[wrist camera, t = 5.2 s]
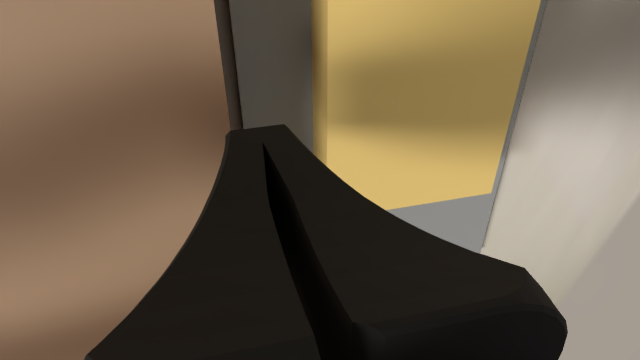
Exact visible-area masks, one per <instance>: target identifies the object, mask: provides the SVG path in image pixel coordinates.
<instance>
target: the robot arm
mask: <svg viewBox="0 0 640 360" xmlns="http://www.w3.org/2000/svg"><path fill="white" fill-rule="evenodd" d="M567 333H568V331H567V325H566V320H565V319H564V317H563V316H562V315H561V313H560V312H559V311H558V309H557V308H556V307H555V305H554V304H553V302H552V301H551V300H550V298H549V297H548V295H547V294H546V293H545V291H544V290H543V289H542V287H541V286H540V285H539V284H538V283H537V282H536V281H535V279H534V278H533V277H532V276H531V275H530V274H529V273H528V271H527V270H526V269H525V268H523V267H520V266H517V265H514V264H510V263H507V262H504V261H501V260H498V259H495V258H492V257H489V256H486V255H482V254H479V253H476V252H473V251H471V250H468V249H466V248H463V247H461V246H458V245H456V244H453V243H451V242H448V241H446V240H443V239H441V238H439V237H437V236H434V235H432V234H430V233H428V232H426V231H423V230H421V229H419V228H418V227H416V226H414V225H412V224H410V223H408V222H406V221H404V220H402V219H400V218H398V217H396V216H395V215H393V214H391V213H389V212H388V211H386V210H384V209H383V208H381V207H380V206H378V205H377V204H375V203H373V202H372V201H370V200H369V199H367V198H366V197H364V196H363V195H361V194H360V193H359V192H357V191H356V190H355V189H353V188H352V187H351V186H349V185H348V184H347V183H346V182H344V181H343V180H342V179H341V178H340V177H338V176H337V175H336V174H335V173H334V172H332V171H331V170H330V169H329V168H328V167H327V166H326V165H325V164H324V163H323V162H321V161H320V160H319V159H318V158H317V157H316V156H315V155H314V154H313V153H312V152H311V151H310V150H309V149H308V148H307V147H306V146H305V145H304V144H303V143H302V142H301V141H300V140H299V139H298V138H297V136H296V135H295V134H294V133H293V132H292V131H291V130H290V129H289V128H288V127H287V126H286V125H285V124H280V125H272V126H265V127H257V128H249V129H241V130H233V131H229V132H228V134H227V135H226V136H225V148H224V153H223V157H222V161H221V165H220V168H219V171H218V174H217V177H216V180H215V182H214V185H213V188H212V190H211V192H210V195H209V197H208V199H207V201H206V204H205V206H204V208H203V210H202V212H201V214H200V216H199V218H198V220H197V222H196V224H195V226H194V227H193V229H192V231H191V233H190V234H189V236H188V238H187V239H186V241H185V243H184V244H183V246H182V247H181V249H180V250H179V252H178V253H177V255H176V256H175V258H174V259H173V260H172V262H171V263H170V265H169V266H168V268H167V269H166V270H165V272H164V273H163V274H162V276H161V277H160V278H159V279H158V281H157V282H156V283H155V284H154V285H153V286H152V288H151V289H150V290H149V291H148V292H147V294H146V295H145V296H144V297H143V298H142V299H141V301H140V302H139V303H138V304H137V305H136V306H135V308H134V309H133V310H132V311H131V312H130V313H129V314H128V315H127V316H126V317H125V318H124V319H123V320H122V321H121V322H120V323H119V324H118V325H117V326H116V327H115V328H114V329H113V330H112V331H111V332H110V333H109V334H108V335H107V336H106V337H105V338H104V339H103V340H102V341H101V342H100V343H99V344H98V345H97V346H96V347H95V348H93V349H92V350H91V351H90V352H89V353H88V354H87V355H86V356H85V358H84V360H558V359H559V356H560V354H561V352H562V350H563V347H564V344H565V340H566V337H567Z"/></svg>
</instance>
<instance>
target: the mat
mask: <svg viewBox="0 0 640 360" xmlns="http://www.w3.org/2000/svg"><path fill="white" fill-rule="evenodd" d="M546 3H547V0H541V2H540V6H539V10H538V14H537V18H536V21H535V25H534V29H533V33H532V37H531V41H530V45H529V49H528V52H527V56H526V60H525V64H524V68H523V72H522V76H521V79H520V83H519V87H518V91H517V95H516V99H515V103H514V107H513V110H512V114H511V118H510V122H509V126H508V130H507V134H506V138H505V141H504V145H503V149H502V153H501V157H500V161H499V165H498V169H497V172H496V176H495V180H494V184H493V188H492V192H491V193H489V194H483V195H477V196H470V197H464V198H458V199H452V200H446V201H440V202H433V203H427V204H421V205H415V206H409V207H402V208H396V209H390V210H386V211H388V212H389V213H391V214H393V215H395V216H396V217H398V218H400V219H402V220H404V221H406V222H408V223H410V224H412V225H414V226H416V227H418V228H419V229H421V230H423V231H426V232H428V233H430V234H432V235H434V236H437V237H439V238H441V239H443V240H446V241H448V242H451V243H453V244H456V245H458V246H461V247H463V248H466V249H468V250H471V251H473V252H476V253H479V254H480V252H481V248H482V244H483V240H484V237H485V233H486V229H487V225H488V222H489V218H490V214H491V210H492V207H493V203H494V199H495V195H496V191H497V188H498V184H499V180H500V176H501V173H502V169H503V165H504V161H505V158H506V154H507V150H508V146H509V142H510V139H511V135H512V131H513V127H514V124H515V120H516V116H517V112H518V109H519V105H520V101H521V97H522V94H523V90H524V86H525V82H526V78H527V75H528V71H529V67H530V63H531V60H532V56H533V52H534V48H535V45H536V41H537V37H538V33H539V29H540V26H541V22H542V18H543V14H544V11H545V7H546ZM229 9H230V18H231V26H232V35H233V44H234V53H235V61H236V70H237V79H238V87H239V96H240V105H241V114H242V122H243V129H249V128H257V127H265V126H272V125H280V124H285V125H286V126H287V127H288V128H289V129H290V130H291V131H292V132H293V133H294V134H295V135H296V136H297V138H298V139H299V140H300V141H301V142H302V143H303V144H304V145H305V146H306V147H307V148H308V149H309V150H310V151H311V152H312V153H313V103H312V42H311V0H229Z"/></svg>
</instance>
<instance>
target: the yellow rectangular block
mask: <svg viewBox="0 0 640 360" xmlns="http://www.w3.org/2000/svg"><path fill="white" fill-rule="evenodd" d="M540 2H541V0H311V42H312V103H313V154H314V155H315V156H316V157H317V158H318V159H319V160H320V161H321V162H323V163H324V164H325V165H326V166H327V167H328V168H329V169H330V170H331V171H332V172H334V173H335V174H336V175H337V176H338V177H340V178H341V179H342V180H343V181H344V182H346V183H347V184H348V185H349V186H351V187H352V188H353V189H355V190H356V191H357V192H359V193H360V194H361V195H363V196H364V197H366V198H367V199H369V200H370V201H372V202H373V203H375V204H377V205H378V206H380V207H381V208H383V209H384V210H390V209H396V208H402V207H409V206H415V205H421V204H427V203H433V202H440V201H446V200H452V199H458V198H464V197H470V196H477V195H483V194H489V193H491V192H492V188H493V184H494V180H495V176H496V172H497V169H498V165H499V161H500V157H501V153H502V149H503V145H504V141H505V138H506V134H507V130H508V126H509V122H510V118H511V114H512V110H513V107H514V103H515V99H516V95H517V91H518V87H519V83H520V79H521V76H522V72H523V68H524V64H525V60H526V56H527V52H528V49H529V45H530V41H531V37H532V33H533V29H534V25H535V21H536V18H537V14H538V10H539V6H540Z"/></svg>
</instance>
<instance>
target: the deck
mask: <svg viewBox="0 0 640 360" xmlns="http://www.w3.org/2000/svg"><path fill="white" fill-rule="evenodd" d="M229 131H231V128H230V120H229V113H228V105H227V98H226V90H225V83H224V75H223V68H222V60H221V52H220V45H219V37H218V30H217V22H216V15H215V7H214V0H0V360H84V358H85V356H86V355H87V354H88V353H89V352H90V351H91V350H92V349H93V348H95V347H96V346H97V345H98V344H99V343H100V342H101V341H102V340H103V339H104V338H105V337H106V336H107V335H108V334H109V333H110V332H111V331H112V330H113V329H114V328H115V327H116V326H117V325H118V324H119V323H120V322H121V321H122V320H123V319H124V318H125V317H126V316H127V315H128V314H129V313H130V312H131V311H132V310H133V309H134V308H135V306H136V305H137V304H138V303H139V302H140V301H141V299H142V298H143V297H144V296H145V295H146V294H147V292H148V291H149V290H150V289H151V288H152V286H153V285H154V284H155V283H156V282H157V281H158V279H159V278H160V277H161V276H162V274H163V273H164V272H165V270H166V269H167V268H168V266H169V265H170V263H171V262H172V260H173V259H174V258H175V256H176V255H177V253H178V252H179V250H180V249H181V247H182V246H183V244H184V243H185V241H186V239H187V238H188V236H189V234H190V233H191V231H192V229H193V227H194V226H195V224H196V222H197V220H198V218H199V216H200V214H201V212H202V210H203V208H204V206H205V204H206V201H207V199H208V197H209V195H210V192H211V190H212V188H213V185H214V182H215V180H216V177H217V174H218V171H219V168H220V165H221V161H222V157H223V153H224V148H225V136H226V135H227V134H228V132H229Z"/></svg>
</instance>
